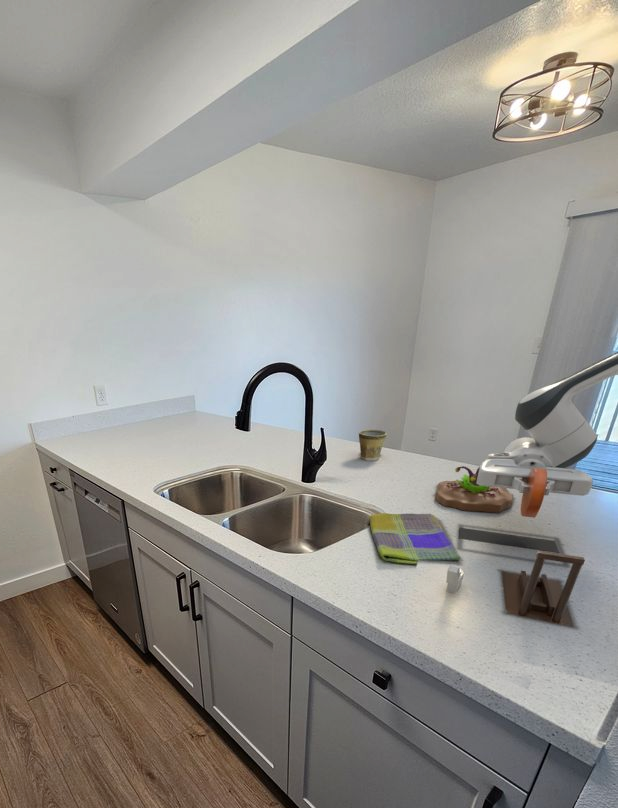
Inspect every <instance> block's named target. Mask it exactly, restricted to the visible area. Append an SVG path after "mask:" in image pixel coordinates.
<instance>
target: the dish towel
mask: <svg viewBox="0 0 618 808" xmlns="http://www.w3.org/2000/svg"><path fill="white" fill-rule="evenodd" d="M368 520H369V526H370V531H371V535H372V538H373V541H374V543H375V546H376V549H377V552H378V553H379V555H380V557H381V558H382V559H383V560H384V561H387V562H392V563H398V564H406V565H418V562H419V561H423V562H425V561H426V562H456V561H460V559H461V555H459V553H458V552H457V550H456V549H455V547H454V545H453V544H452V542H451V541H450V540H449V539H448V537H447V536H446V533H445V532H444V531H443V528H442V526H441V523H440V521H439V519H438V518H437V517H436V515H434V514H432V513H386V512H379V513H374V514H372V515H370V516H369V518H368Z"/></svg>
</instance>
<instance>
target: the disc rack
mask: <svg viewBox="0 0 618 808" xmlns="http://www.w3.org/2000/svg"><path fill="white" fill-rule="evenodd" d="M545 560H546V561H553V562H559V563H566V564H571V567H570V570H569V572H568V575H567V578H566V581H565V583H564V585H563V587H562V585H561V581H560V580H556V579H555V580H554V579H549V578H548V575H547V574H545V573H541V572H542V569H543V566H544V564H545ZM585 561H586V559H585V557H583V556H577V555H570V554H563V553H560V554H559V553H552V552H546V551H539V550H537V552H536V557H535V560H534V563H533V566H532V569H531V573H530V575H527V571H526V570H520V573H515V572H508V571H502V570H501V573H500V574H501V581H502V589H503V590H502V591H503V597H504V598H503V599H504V607H505V614H507V615H512V616H517V617H522V618H525V619H531V620H536V621H541V622H545V623H549V624H555V625H559V626H565V627H569V628H575V626H574V622H573V619H572V615H571V613H570V610H569V606H568V603H569V601H570V598H571V594H572V592H573V591H574V590H573V589H574V588H575V585H576V582H577V579H578V578H579V574H580V572H581V570H582V567H583V566H584V564H585Z"/></svg>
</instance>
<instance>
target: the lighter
mask: <svg viewBox="0 0 618 808" xmlns="http://www.w3.org/2000/svg"><path fill="white" fill-rule="evenodd" d="M464 574H465V571H464V570H462V569H461V568H460V567H458V566H454V565H449V566H448V569H447V571H446V584H447V585H446V589H445V592H448V593H450V594H453V595H456V594H457V592H458V590H459V589H460V587H461V586H462V582H463V578H464Z"/></svg>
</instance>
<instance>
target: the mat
mask: <svg viewBox="0 0 618 808" xmlns="http://www.w3.org/2000/svg"><path fill="white" fill-rule="evenodd" d="M458 539H459V540H464V541H465V540H466V541H473V542H479V543H484V544H485V543H487V544H492V545H499V546H506V547H512V548H520V549H524V550H525V549H526V550H532V551H544V552H551V553H557V554H561V553H560V551H559V548H558V545H557V541H556V540H552V539H545V538H538V537H532V536H531V537H530V536H525V535H524V536H523V535H518V534H517V535H516V534H509V533H503V532H502V533H501V532H496V531H495V532H494V531H488V530H481V529H473V528H466V527H459V529H458Z"/></svg>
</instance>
